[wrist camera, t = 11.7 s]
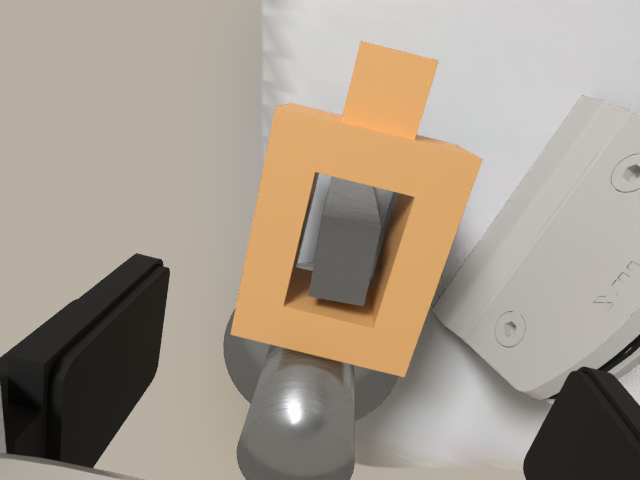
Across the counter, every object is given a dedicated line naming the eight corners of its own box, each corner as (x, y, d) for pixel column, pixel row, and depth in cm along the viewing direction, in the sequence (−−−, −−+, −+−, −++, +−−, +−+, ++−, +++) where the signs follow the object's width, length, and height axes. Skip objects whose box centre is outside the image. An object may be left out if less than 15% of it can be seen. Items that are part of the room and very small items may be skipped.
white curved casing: (586, 88, 26) (777, 133, 18) (633, 124, 28) (826, 180, 19) (428, 314, 31) (515, 433, 23) (476, 331, 33) (574, 446, 25)
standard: (369, 379, 33) (380, 571, 20) (237, 346, 33) (160, 518, 20) (446, 144, 28) (533, 196, 14) (287, 103, 28) (225, 119, 14)
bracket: (395, 326, 25) (404, 377, 20) (251, 291, 24) (230, 334, 20) (478, 78, 20) (512, 76, 16) (305, 34, 20) (292, 20, 16)
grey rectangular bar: (333, 168, 29) (322, 216, 18) (371, 175, 29) (381, 226, 18) (323, 222, 30) (308, 296, 19) (360, 229, 30) (363, 306, 19)
